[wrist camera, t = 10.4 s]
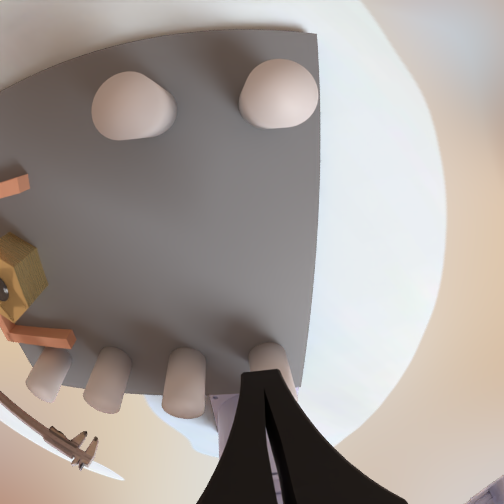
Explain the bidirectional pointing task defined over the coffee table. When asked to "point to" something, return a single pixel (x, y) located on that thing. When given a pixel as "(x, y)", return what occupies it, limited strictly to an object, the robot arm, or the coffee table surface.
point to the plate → (169, 213)
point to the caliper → (56, 436)
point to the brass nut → (19, 276)
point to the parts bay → (28, 333)
